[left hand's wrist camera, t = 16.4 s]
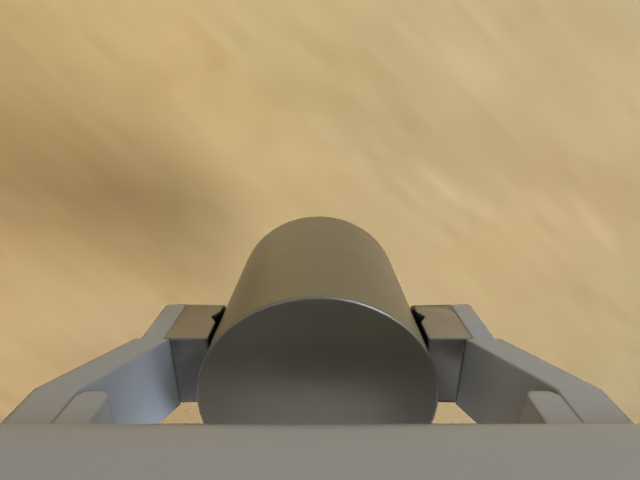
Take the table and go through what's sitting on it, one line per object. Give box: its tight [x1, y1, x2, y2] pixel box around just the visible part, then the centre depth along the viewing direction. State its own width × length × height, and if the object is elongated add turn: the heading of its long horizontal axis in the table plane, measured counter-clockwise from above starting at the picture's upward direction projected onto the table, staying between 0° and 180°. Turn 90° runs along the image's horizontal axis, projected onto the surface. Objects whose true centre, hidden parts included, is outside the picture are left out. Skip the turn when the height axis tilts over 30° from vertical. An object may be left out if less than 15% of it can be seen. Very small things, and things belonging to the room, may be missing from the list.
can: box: [197, 217, 439, 424], centre depth 10 cm, size 5×5×5 cm
